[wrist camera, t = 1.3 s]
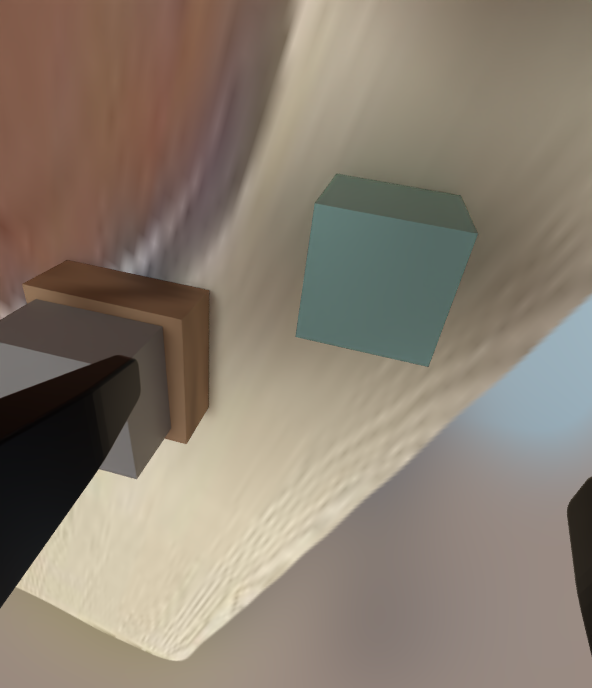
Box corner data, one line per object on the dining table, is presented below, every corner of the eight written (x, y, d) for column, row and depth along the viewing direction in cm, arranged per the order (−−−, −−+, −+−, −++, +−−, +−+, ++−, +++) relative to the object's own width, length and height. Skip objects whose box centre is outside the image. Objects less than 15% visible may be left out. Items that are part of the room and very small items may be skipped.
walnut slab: (211, 287, 22) (181, 319, 19) (210, 403, 26) (186, 444, 23) (71, 258, 23) (22, 284, 20) (93, 374, 27) (55, 410, 24)
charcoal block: (162, 326, 19) (119, 370, 16) (171, 428, 23) (136, 479, 20) (35, 299, 20) (-27, 336, 17) (63, 401, 24) (15, 446, 21)
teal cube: (460, 195, 17) (478, 233, 13) (424, 305, 19) (428, 366, 15) (336, 173, 17) (314, 203, 13) (318, 283, 20) (295, 336, 16)
